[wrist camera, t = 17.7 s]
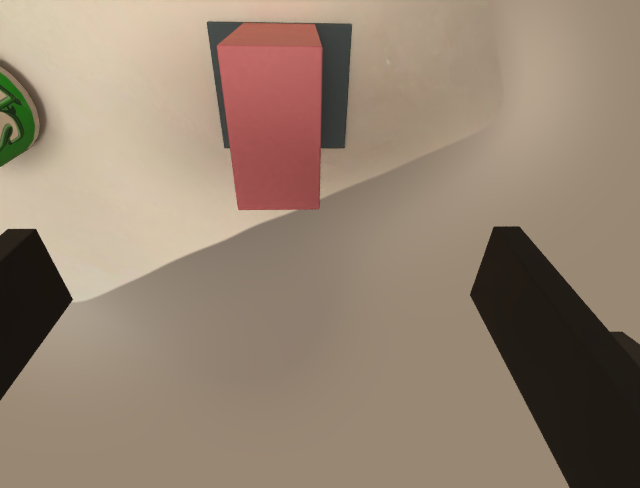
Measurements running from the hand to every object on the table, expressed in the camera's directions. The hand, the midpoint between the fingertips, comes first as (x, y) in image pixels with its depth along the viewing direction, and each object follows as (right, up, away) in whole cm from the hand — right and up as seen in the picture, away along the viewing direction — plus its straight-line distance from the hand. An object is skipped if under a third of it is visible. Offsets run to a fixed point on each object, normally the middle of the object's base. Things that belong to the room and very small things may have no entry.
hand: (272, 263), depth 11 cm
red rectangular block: (-1, +12, +17) cm, 21 cm away
